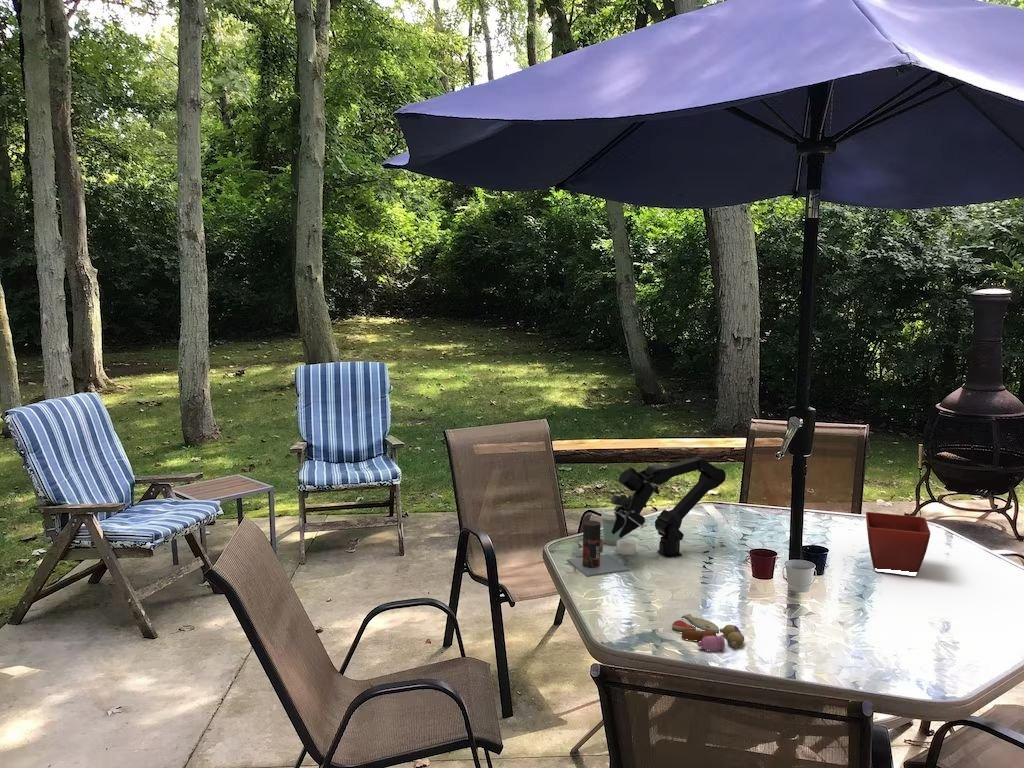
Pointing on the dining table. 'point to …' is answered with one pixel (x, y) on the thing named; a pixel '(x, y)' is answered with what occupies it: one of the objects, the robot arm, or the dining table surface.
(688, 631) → the toy food set
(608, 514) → the coffee cup
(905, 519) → the plant pot
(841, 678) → the dining table surface
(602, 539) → the walnut box
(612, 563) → the slate board
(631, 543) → the off-white smooth dome
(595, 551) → the deodorant
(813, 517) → the dining table surface
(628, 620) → the dining table surface
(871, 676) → the dining table surface
